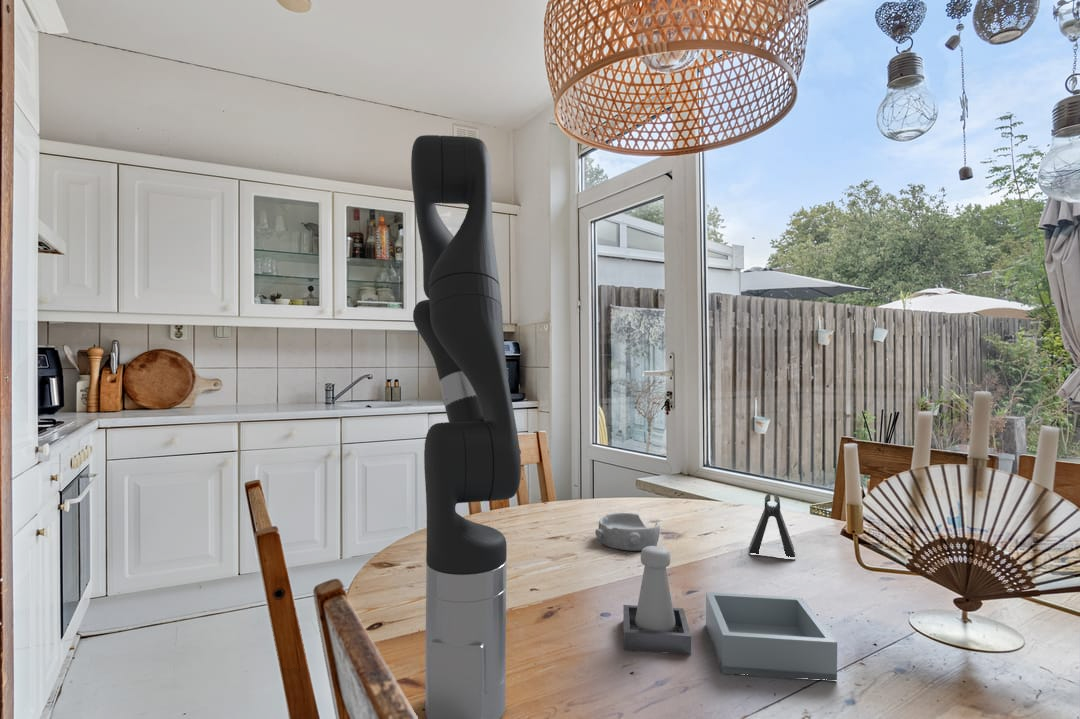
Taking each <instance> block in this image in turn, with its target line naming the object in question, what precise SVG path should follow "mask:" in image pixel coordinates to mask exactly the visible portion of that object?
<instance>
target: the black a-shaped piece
mask: <svg viewBox="0 0 1080 719" xmlns="http://www.w3.org/2000/svg"><path fill="white" fill-rule="evenodd" d="M773 498H774V499H773V500H774V502H775V503H776V505H773V506H772V505H769V503H768V502H771V492H770V493H767V494H766V495H765V497H764V509H763V511H762V513H761V516H760V519H759V521H758V523H757V525H756V529H755V531H754V533H753V535H752V538H751V540H750V543H749V547H748V548H749V550H748V554H749V553H756V554H759V549H760V546H762V543H763V538H764V535H765V532H766V529H767V525H768V522H769V519H770V518H771V517H773V518H775V519H776V520H775V521H776V524H777V529H778V531H779V536H780V539H781V542H782V546H783V549H784V551H785V554H786V556H788V557H789V556H790V557H795V556H796V552H794V549H795V547H794V544H793V541H792V539H791V537H790V533H789V531H788V527H787V525H786V523H785V520H784V517H783V514H782V512H781V502H780V501H781V500H780V497H779V495H777V493H774V495H773Z"/></svg>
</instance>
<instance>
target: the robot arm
mask: <svg viewBox="0 0 1080 719" xmlns="http://www.w3.org/2000/svg"><path fill="white" fill-rule="evenodd" d="M410 158H411V159H410V161H411V162H410V163H411V164H410V166H411V167H410V169H411V172H410V173H411V185H412V194H413V201H414V208H415V216H416V223H417V229H418V234H419V239H420V244H421V252H422V266H423V267H422V268H423V269H422V270H423V271H422V278H423V280H422V282H423V284H422V287H423V291H424V294H425V296H426V298H427V299H424V300H421V301H419V302H417V303H416V304H415V307H414V308H413V311H412V318H413V323H414V326H415V328H416V330H417V332H418V333H419V334H420V337H421V338H422V339H423V341H424V343H425V345H426V347H427V348H428V350H429V352H430V354H431V355H432V358H433V362H434V365H435V367H436V372H437V375H438V380H439V382H440V391H441V397H442V403H443V404H442V405H444V408H445V409H444V410H445V412H446V416H447V419H448V421H447V422H438V423H434V424H432V425H431V426H430V428H429V429H428V430H427V433H426V437H425V440H424V451H423V455H424V456H423V459H424V460H423V462H424V464H423V465H424V468H423V470H424V482H425V483H424V484H425V485H424V486H425V501H426V502H425V504H426V507H425V508H426V550H425V551H426V552H425V553H426V555H425V557H426V558H425V559H426V560H425V562H426V566H425V567H426V569H425V570H426V571H425V572H426V576H425V579H426V580H425V583H426V584H425V585H426V586H425V665H424V666H425V667H424V668H425V669H424V670H425V671H424V672H425V678H424V679H425V681H424V682H425V685H424V686H425V687H424V688H425V689H424V690H425V691H424V692H425V695H424V696H425V697H424V698H425V699H424V700H425V702H424V704H425V709H424V710H425V711H424V712H425V713H424V714H425V717H426V719H501V718H502V717H503V715H504V714H505V711H506V700H507V699H506V695H507V694H506V693H507V692H506V689H507V688H506V686H507V684H506V683H507V682H506V681H507V671H506V669H507V668H506V666H507V663H506V662H507V661H506V660H507V658H506V657H507V654H506V653H507V558H508V557H507V552H508V551H507V549H508V545H507V540H506V537H505V535H504V534H503V533H502V532H501V531H500V530H498V529H496V528H494V527H491V526H489V525H485V524H481V523H479V522H474V521H472V520H469V519H467V518H465V517H463V516H461V515H460V514H459V513H458V512H457V511H456V506H457V504H462V503H463V504H465V503H477V502H478V503H479V502H480V503H481V502H492V501H493V502H494V501H495V502H496V501H504V500H509V499H512V498H513V497H515V495H516V494H517V493H518V491H519V488H520V484H521V480H522V479H521V478H522V458H521V453H522V450H521V449H520V442H519V436H518V429H517V424H516V419H515V412H514V407H513V406H514V405H513V401H512V395H511V390H510V389H511V388H510V384H509V382H510V381H509V377H508V368H507V360H506V350H505V339H504V338H505V337H504V323H503V322H504V320H503V306H502V295H501V294H502V293H501V286H500V278H499V271H498V265H497V264H498V263H497V257H496V249H495V242H494V241H495V240H494V239H495V238H494V229H493V228H494V227H493V205H492V204H493V203H492V201H493V200H492V175H491V174H492V172H491V161H490V155H489V151H488V147H487V145H486V144H485V142H484V141H483V140H482V139H480V138H477V137H472V136H461V135H460V136H459V135H437V134H432V135H431V134H428V135H427V134H425V135H419V136H417V137H416V139H415V140H414V142H413V145H412V148H411V157H410ZM436 204H442V205H443V204H444V205H445V204H449V205H450V204H451V205H452V204H453V205H455V204H456V205H467V206H468V208H467V210H466V213H465V217H464V218H463V221H462V223H461V225H460V226H459V228H458V231H457V232H456V233H455V235H453V233H452V232H451V231H450V230H449V228H448V227H447V226H446V224H445V222H444V221H443V220H442V218H441V217H440V214H439V212H438V210H437V206H436Z"/></svg>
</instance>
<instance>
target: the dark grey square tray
mask: <svg viewBox="0 0 1080 719" xmlns="http://www.w3.org/2000/svg"><path fill="white" fill-rule="evenodd" d="M637 607H638V605H635V604H633V605H632V604H623V609H622V610H623V615H622V616H623V617H622V619H623V622H622V623H623V646H624V648H623V649H624V651H632V650H633V652H634V651H635V652H647V651H650V653H661V652H668V653H667V654H676V653H679V654H678V655H690V654H691V655H692V635H691V630H690V627H689V623H688V621H687V616H686V613H685V610H684V608H683V607H673V611H674V616H675V626H679V627H678V630H679V631H678V632H673V633H672V632H656V631H641V630H638V629H631V625H636V622H635V618H636V612H637ZM680 653H682V654H680Z"/></svg>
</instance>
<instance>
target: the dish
mask: <svg viewBox="0 0 1080 719" xmlns="http://www.w3.org/2000/svg"><path fill="white" fill-rule="evenodd" d="M660 529H661V528H660V522H656V523H655V525H654V526H650V527H648V526H646V524H645V523H644V521H643V520H642V518H641V516H640V515H639V514H638V513H633V512H613V513H608V514H606V515H602V516H601V518H600V519H599V521H598V528H597V529H595V536H596V538H597V539H598V540H599V541H600V543H602V545H603V546H607V547H609V548H612V549H616V550H622V551H631V552H632V551H633V552H635V551H639V552H640V551H642V549H643V548H645V547H647V546H658V543H659V539H660V533H661V532H660Z"/></svg>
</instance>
